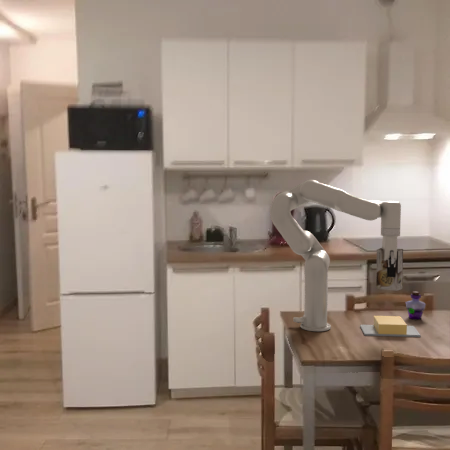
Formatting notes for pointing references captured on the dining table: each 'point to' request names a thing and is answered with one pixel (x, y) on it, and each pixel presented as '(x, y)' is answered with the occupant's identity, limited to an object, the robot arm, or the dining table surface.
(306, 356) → the dining table surface
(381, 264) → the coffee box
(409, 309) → the potion bottle
